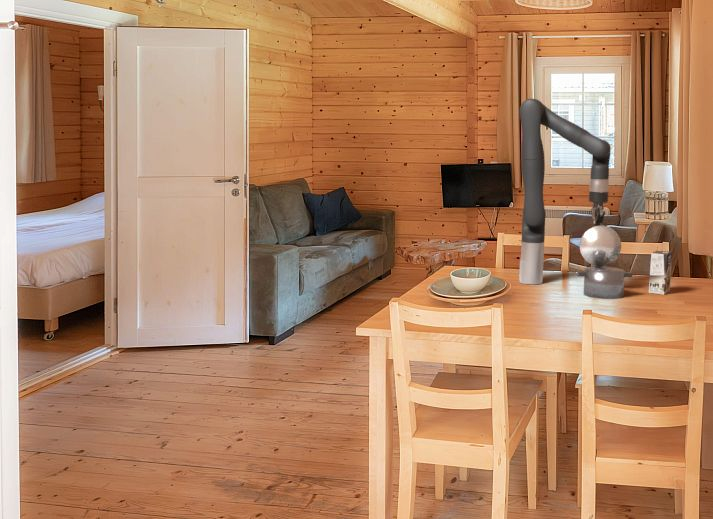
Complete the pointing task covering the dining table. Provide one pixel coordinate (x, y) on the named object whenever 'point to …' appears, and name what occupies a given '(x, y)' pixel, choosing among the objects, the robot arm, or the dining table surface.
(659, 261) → the coffee box
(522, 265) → the robot arm
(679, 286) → the dining table surface
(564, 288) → the dining table surface
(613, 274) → the cooker body
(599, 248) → the lid
